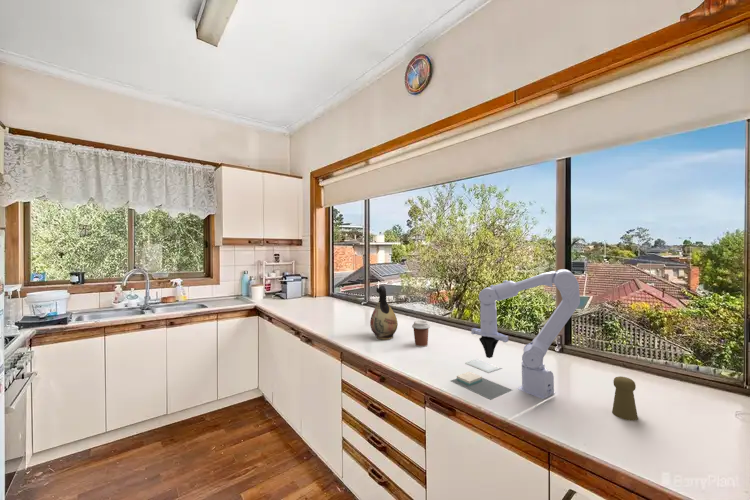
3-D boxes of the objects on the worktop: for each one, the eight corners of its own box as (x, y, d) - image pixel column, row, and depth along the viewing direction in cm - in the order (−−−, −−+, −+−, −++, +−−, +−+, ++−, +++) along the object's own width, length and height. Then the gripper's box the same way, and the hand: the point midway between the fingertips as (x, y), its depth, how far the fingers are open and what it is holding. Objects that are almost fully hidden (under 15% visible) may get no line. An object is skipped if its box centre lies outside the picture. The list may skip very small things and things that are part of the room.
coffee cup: (408, 345, 164) (408, 322, 164) (420, 341, 170) (419, 319, 170) (422, 349, 158) (422, 325, 157) (433, 345, 164) (433, 322, 164)
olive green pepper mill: (610, 415, 94) (609, 378, 94) (614, 407, 98) (613, 372, 98) (636, 423, 90) (636, 384, 90) (639, 414, 94) (638, 377, 94)
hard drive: (465, 362, 136) (488, 371, 125) (478, 358, 140) (502, 367, 130) (465, 366, 136) (488, 375, 125) (478, 362, 140) (502, 371, 130)
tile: (482, 376, 118) (469, 371, 123) (469, 381, 114) (456, 375, 119) (482, 381, 118) (469, 375, 123) (469, 385, 114) (456, 380, 119)
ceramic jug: (368, 335, 185) (367, 283, 185) (394, 333, 188) (393, 282, 187) (373, 343, 168) (372, 287, 168) (401, 341, 171) (400, 286, 171)
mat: (512, 391, 110) (512, 389, 110) (490, 401, 104) (490, 399, 104) (471, 374, 126) (471, 373, 126) (449, 382, 119) (449, 380, 119)
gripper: (465, 318, 121) (466, 354, 121) (499, 325, 109) (500, 365, 109) (477, 315, 125) (478, 350, 125) (511, 322, 113) (512, 360, 113)
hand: (489, 357), depth 117 cm, fingers closed
